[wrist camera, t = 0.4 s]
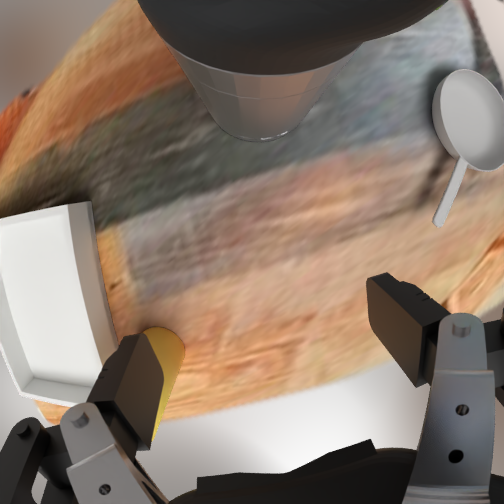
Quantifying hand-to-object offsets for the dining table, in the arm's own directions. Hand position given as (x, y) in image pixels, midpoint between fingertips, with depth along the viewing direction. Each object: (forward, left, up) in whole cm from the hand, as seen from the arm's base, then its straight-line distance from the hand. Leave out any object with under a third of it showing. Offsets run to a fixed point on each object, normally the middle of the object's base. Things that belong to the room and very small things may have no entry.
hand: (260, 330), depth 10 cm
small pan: (-8, +21, -18) cm, 29 cm away
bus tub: (+6, -24, -18) cm, 30 cm away
